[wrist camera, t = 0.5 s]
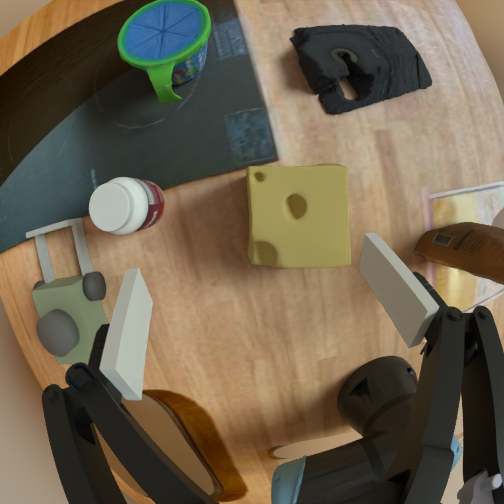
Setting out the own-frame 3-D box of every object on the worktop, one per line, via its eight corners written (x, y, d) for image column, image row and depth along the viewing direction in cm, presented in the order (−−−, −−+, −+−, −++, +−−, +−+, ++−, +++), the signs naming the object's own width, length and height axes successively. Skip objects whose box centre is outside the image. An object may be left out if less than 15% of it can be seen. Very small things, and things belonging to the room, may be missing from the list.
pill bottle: (136, 235, 35) (98, 251, 24) (117, 195, 34) (73, 197, 23) (175, 213, 35) (146, 220, 24) (154, 171, 33) (119, 162, 23)
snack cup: (211, 113, 32) (200, 83, 22) (136, 115, 32) (103, 92, 22) (222, 22, 29) (218, -20, 19) (154, 27, 29) (133, -10, 19)
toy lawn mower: (126, 348, 38) (103, 380, 29) (69, 348, 38) (42, 375, 29) (90, 215, 34) (53, 221, 25) (34, 231, 34) (-2, 240, 25)
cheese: (247, 254, 36) (249, 275, 26) (243, 170, 34) (244, 159, 24) (325, 250, 36) (353, 269, 26) (324, 169, 34) (353, 159, 24)
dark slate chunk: (434, 101, 33) (450, 94, 28) (319, 119, 33) (330, 109, 29) (396, 26, 30) (409, 14, 25) (280, 32, 30) (285, 15, 26)
